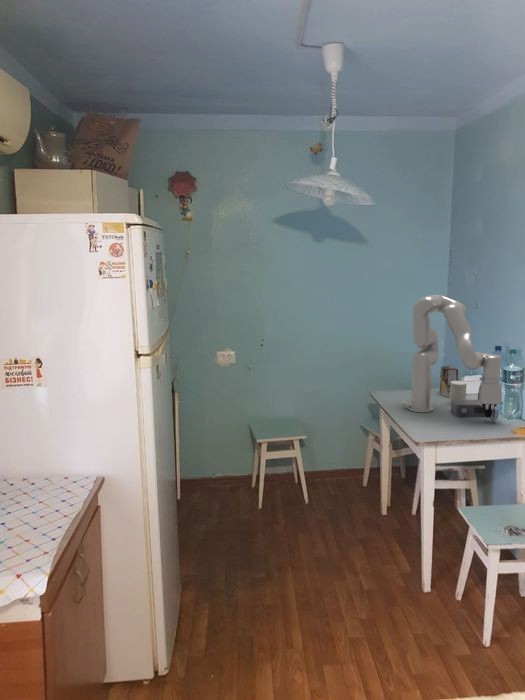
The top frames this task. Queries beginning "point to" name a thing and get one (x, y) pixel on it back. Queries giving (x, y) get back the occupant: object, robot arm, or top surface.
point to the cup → (457, 390)
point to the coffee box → (447, 379)
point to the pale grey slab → (494, 415)
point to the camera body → (467, 408)
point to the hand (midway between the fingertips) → (487, 416)
